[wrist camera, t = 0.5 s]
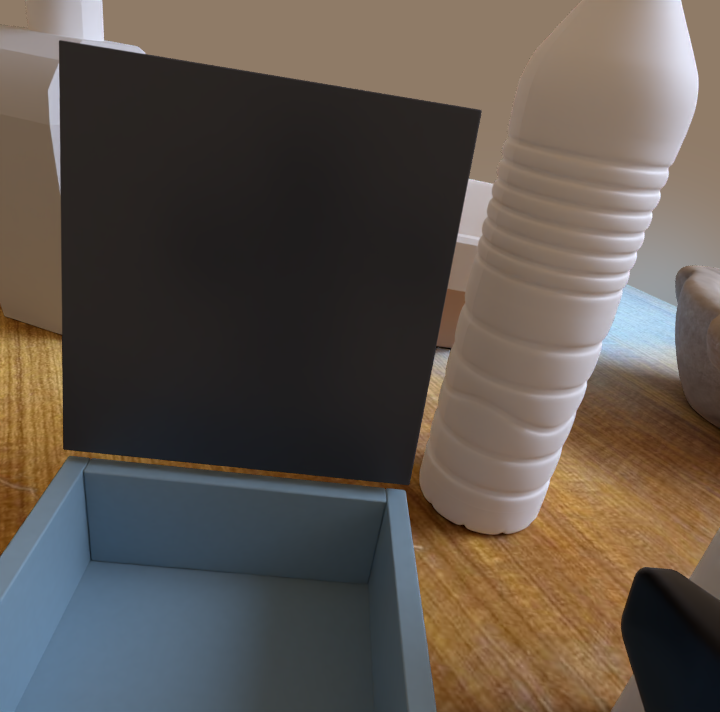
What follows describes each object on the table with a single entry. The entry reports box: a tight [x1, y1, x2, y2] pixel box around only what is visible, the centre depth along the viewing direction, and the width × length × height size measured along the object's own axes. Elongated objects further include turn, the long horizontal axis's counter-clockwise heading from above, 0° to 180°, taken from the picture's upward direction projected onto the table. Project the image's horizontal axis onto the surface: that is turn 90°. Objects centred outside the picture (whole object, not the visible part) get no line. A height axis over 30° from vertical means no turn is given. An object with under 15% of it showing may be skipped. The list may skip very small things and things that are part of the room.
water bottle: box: [419, 0, 698, 535], centre depth 26 cm, size 9×6×25 cm
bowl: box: [436, 179, 493, 348], centre depth 50 cm, size 24×25×11 cm
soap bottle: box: [0, 0, 146, 335], centre depth 37 cm, size 12×10×26 cm
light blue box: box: [0, 456, 437, 712], centre depth 17 cm, size 13×13×5 cm
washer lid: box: [59, 40, 481, 485], centre depth 21 cm, size 13×13×4 cm
